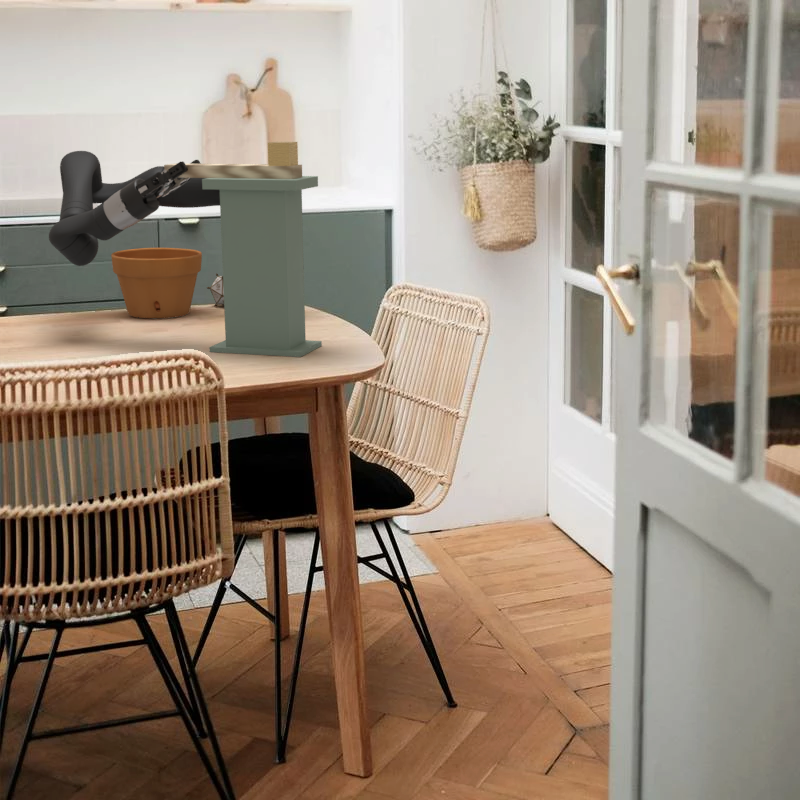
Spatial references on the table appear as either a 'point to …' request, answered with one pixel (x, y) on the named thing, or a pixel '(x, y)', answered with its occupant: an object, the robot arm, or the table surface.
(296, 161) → the cube
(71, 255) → the robot arm
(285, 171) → the wooden plank
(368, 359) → the table surface
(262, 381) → the table surface
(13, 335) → the table surface
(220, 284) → the game die
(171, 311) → the flower pot
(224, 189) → the shelf stand
